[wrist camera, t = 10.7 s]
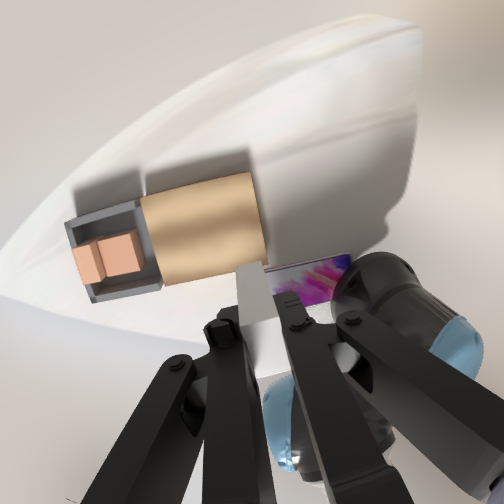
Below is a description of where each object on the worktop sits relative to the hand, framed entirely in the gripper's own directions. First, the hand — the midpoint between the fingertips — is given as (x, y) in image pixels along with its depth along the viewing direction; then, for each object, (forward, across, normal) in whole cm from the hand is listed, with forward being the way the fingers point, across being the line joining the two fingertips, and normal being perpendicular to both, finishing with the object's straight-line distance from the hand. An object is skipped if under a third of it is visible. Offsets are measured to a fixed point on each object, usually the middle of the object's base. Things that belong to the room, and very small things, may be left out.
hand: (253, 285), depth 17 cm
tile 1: (+20, +19, 0) cm, 27 cm away
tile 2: (+22, +16, 0) cm, 28 cm away
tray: (+23, +18, 0) cm, 29 cm away
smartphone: (+24, -7, +12) cm, 27 cm away
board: (+23, +5, 0) cm, 23 cm away
